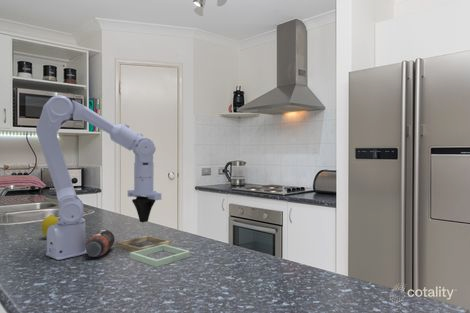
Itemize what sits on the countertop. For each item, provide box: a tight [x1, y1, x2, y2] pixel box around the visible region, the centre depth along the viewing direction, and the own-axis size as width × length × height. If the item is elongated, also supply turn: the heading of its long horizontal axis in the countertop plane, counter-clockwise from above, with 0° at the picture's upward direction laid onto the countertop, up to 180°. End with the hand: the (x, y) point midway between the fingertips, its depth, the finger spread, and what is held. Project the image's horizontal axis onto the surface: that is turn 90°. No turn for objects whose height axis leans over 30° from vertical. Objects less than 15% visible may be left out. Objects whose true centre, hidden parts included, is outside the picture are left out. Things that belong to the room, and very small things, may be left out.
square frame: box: [129, 244, 191, 268], centre depth 95 cm, size 12×12×2 cm
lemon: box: [41, 214, 60, 238], centre depth 116 cm, size 6×6×8 cm
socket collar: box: [116, 235, 172, 253], centre depth 107 cm, size 12×12×2 cm
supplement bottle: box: [85, 229, 115, 258], centre depth 98 cm, size 6×6×11 cm
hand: (143, 221), depth 107 cm, fingers closed
